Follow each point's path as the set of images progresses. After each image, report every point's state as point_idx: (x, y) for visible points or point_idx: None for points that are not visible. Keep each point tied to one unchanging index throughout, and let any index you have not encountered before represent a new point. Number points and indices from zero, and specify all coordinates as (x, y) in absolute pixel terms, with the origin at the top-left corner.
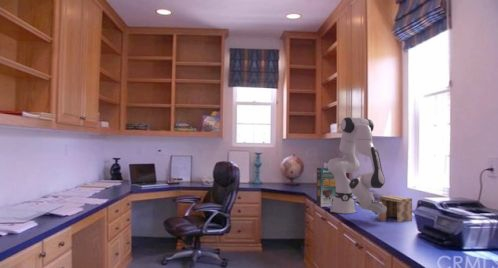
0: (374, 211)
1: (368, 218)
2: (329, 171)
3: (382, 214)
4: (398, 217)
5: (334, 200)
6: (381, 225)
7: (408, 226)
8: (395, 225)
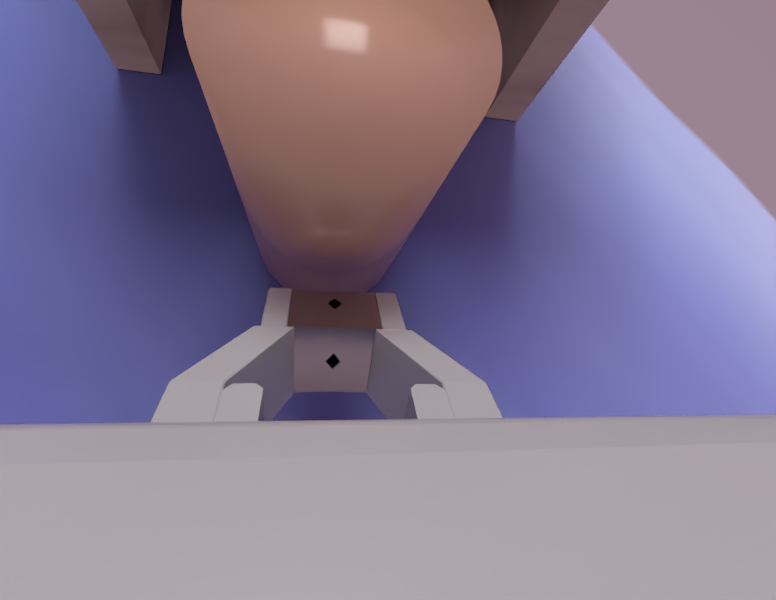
0: (270, 397)
1: (61, 338)
2: None
3: (400, 246)
4: (540, 73)
5: None
6: None
7: (761, 258)
8: (683, 366)
